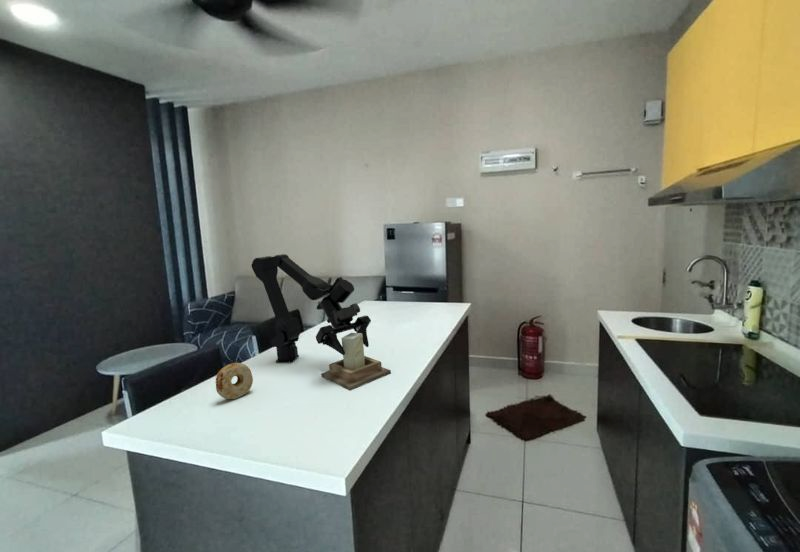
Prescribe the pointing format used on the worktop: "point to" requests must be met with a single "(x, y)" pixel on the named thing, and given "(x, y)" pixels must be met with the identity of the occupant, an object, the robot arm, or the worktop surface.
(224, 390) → the stone disc
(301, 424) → the worktop surface
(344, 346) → the skincare box
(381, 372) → the socket
